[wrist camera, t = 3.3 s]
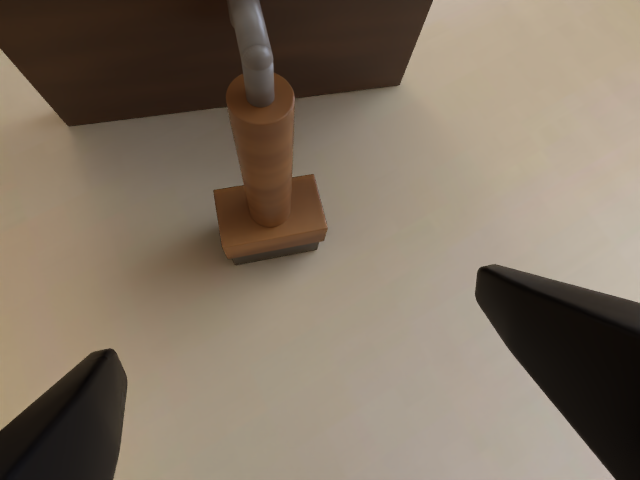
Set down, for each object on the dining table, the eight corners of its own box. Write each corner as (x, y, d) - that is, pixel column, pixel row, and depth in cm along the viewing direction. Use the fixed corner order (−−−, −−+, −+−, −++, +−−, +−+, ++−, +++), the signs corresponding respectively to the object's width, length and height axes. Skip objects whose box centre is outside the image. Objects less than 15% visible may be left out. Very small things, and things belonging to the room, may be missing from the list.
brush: (321, 251, 23) (371, 81, 10) (232, 269, 22) (153, 108, 9) (301, 171, 25) (320, -64, 12) (218, 184, 24) (136, -54, 11)
